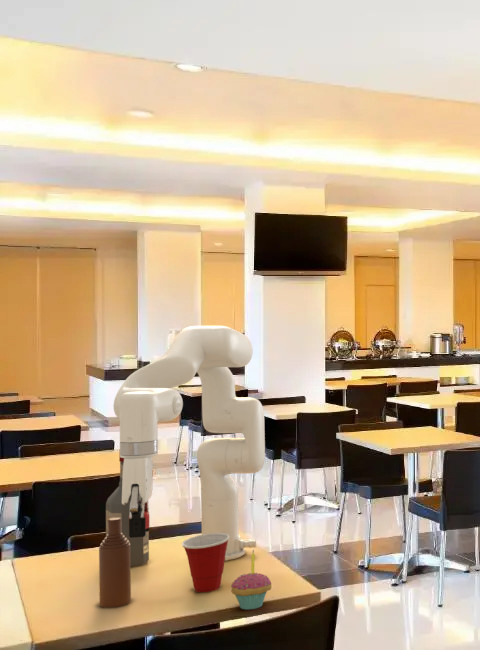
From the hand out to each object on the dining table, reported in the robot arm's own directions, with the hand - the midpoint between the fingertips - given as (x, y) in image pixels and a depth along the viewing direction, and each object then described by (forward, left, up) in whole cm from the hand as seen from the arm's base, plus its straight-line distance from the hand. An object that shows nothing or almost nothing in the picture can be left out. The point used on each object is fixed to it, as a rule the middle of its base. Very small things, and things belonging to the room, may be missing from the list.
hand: (139, 533), depth 187 cm
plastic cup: (-12, -16, -18) cm, 27 cm away
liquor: (+10, -44, -18) cm, 49 cm away
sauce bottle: (+7, -11, -18) cm, 22 cm away
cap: (0, 0, +1) cm, 1 cm away
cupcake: (-23, 0, -18) cm, 29 cm away
